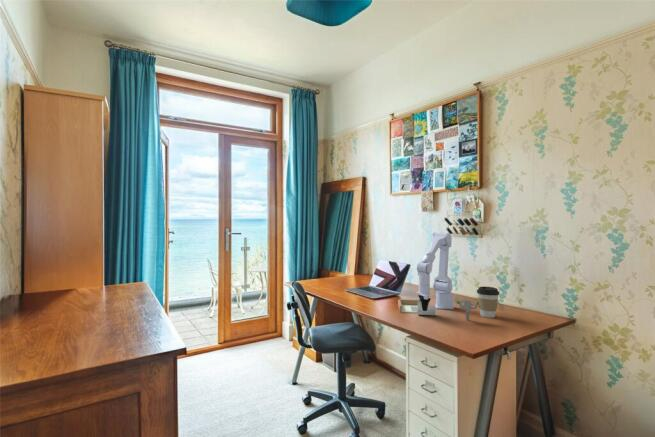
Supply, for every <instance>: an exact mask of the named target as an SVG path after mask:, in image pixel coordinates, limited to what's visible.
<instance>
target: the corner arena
mask: <svg viewBox="0 0 655 437" xmlns="http://www.w3.org/2000/svg"><path fill="white" fill-rule="evenodd" d="M417 300H418V299H407V298H405V299H404V298H401V299H397V306H398V311H399V313H406V314H407V313H409V314H410V313H411V314H418V313H417Z"/></svg>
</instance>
